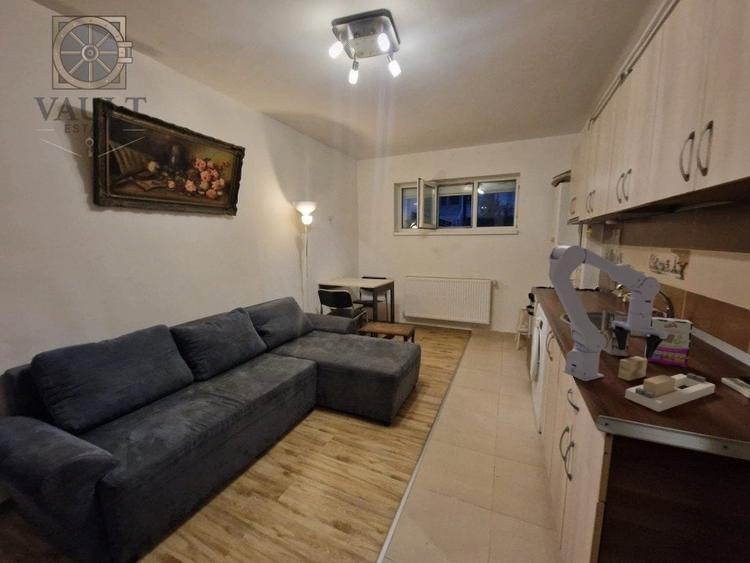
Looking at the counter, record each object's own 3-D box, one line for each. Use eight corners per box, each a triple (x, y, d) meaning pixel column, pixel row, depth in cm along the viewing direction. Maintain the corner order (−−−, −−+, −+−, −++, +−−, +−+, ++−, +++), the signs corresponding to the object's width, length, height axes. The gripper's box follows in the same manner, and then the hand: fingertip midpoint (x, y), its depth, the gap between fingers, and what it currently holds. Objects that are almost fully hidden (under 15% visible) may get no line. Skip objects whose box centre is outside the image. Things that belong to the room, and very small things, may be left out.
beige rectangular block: (628, 381, 100) (630, 363, 99) (617, 376, 103) (619, 359, 102) (645, 376, 104) (647, 359, 103) (633, 372, 107) (636, 355, 106)
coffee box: (628, 356, 121) (633, 315, 119) (609, 355, 122) (614, 314, 120) (615, 348, 130) (620, 310, 128) (598, 347, 131) (602, 309, 129)
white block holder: (658, 411, 82) (661, 390, 81) (624, 397, 90) (627, 377, 89) (713, 392, 93) (717, 373, 92) (679, 381, 100) (682, 363, 99)
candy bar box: (682, 363, 115) (689, 319, 112) (687, 368, 111) (694, 322, 108) (643, 357, 121) (648, 315, 118) (645, 361, 116) (651, 318, 114)
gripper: (675, 317, 95) (669, 359, 97) (622, 307, 108) (618, 344, 110) (662, 319, 93) (656, 363, 94) (609, 308, 106) (605, 347, 108)
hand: (634, 353), depth 102 cm, fingers open, 7 cm apart
